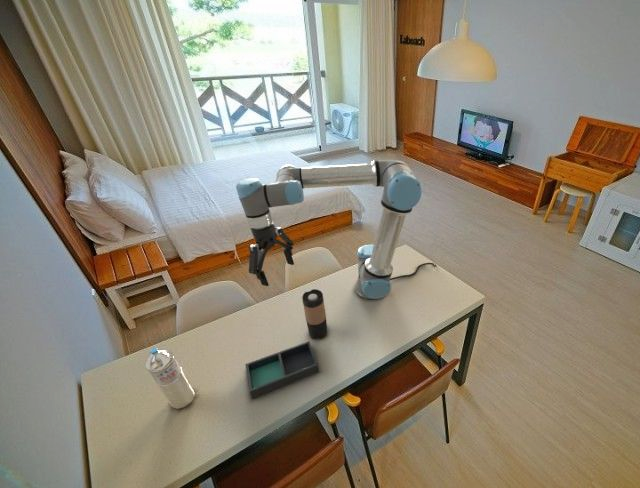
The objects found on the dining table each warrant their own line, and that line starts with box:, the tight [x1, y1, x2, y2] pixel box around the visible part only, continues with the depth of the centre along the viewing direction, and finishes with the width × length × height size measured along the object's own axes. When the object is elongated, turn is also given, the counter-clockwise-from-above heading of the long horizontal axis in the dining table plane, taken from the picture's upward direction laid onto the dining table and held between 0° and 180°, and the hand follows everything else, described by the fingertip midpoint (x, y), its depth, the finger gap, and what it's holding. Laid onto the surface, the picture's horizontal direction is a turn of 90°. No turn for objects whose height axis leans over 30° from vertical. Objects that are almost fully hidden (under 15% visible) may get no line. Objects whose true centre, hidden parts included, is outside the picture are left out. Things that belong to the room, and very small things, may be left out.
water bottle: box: [144, 347, 196, 410], centre depth 97 cm, size 7×7×25 cm
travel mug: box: [301, 288, 328, 340], centre depth 123 cm, size 8×8×20 cm
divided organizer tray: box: [245, 340, 320, 400], centre depth 113 cm, size 22×12×4 cm, turn 118°
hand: (278, 274), depth 119 cm, fingers open, 13 cm apart
